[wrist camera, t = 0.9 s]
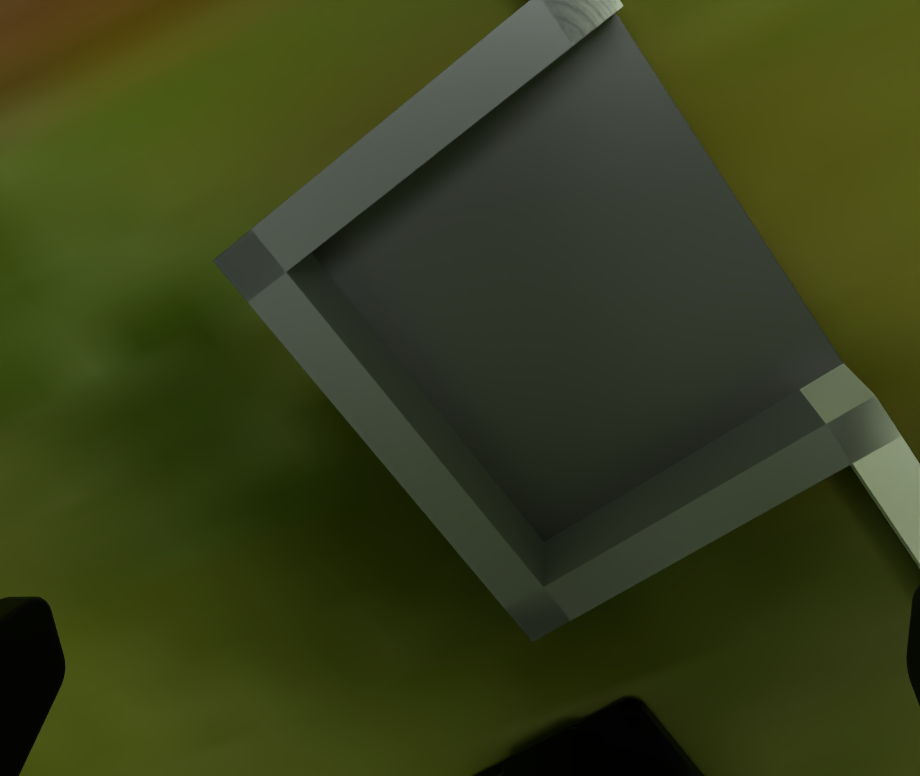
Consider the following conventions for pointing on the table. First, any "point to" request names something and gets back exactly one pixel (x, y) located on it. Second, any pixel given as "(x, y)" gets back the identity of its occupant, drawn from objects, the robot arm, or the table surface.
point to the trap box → (562, 322)
